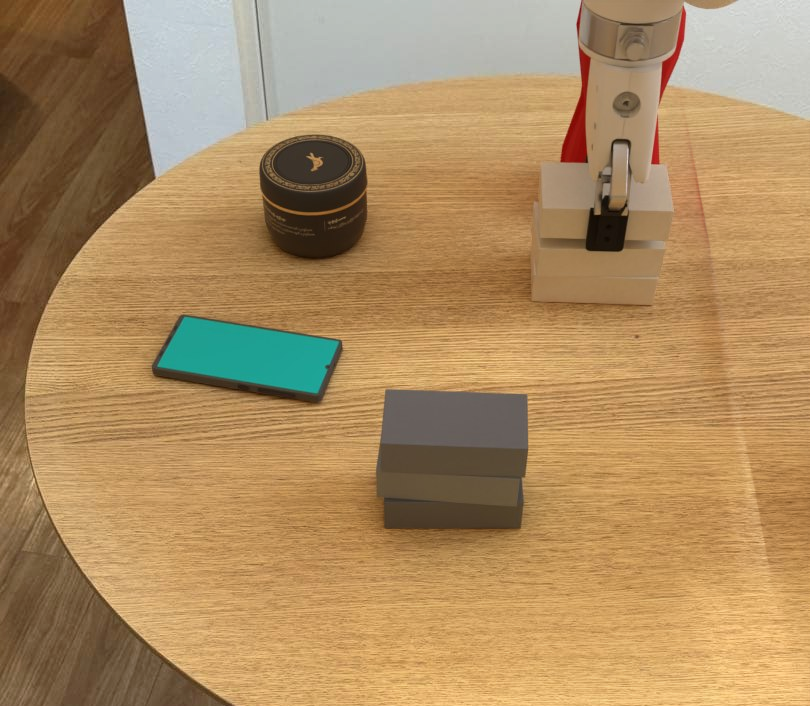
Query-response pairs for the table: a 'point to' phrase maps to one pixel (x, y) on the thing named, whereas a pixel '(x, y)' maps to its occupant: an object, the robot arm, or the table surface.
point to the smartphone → (248, 358)
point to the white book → (575, 193)
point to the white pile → (593, 270)
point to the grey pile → (452, 459)
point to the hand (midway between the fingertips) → (601, 221)
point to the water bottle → (576, 134)
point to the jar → (314, 195)
